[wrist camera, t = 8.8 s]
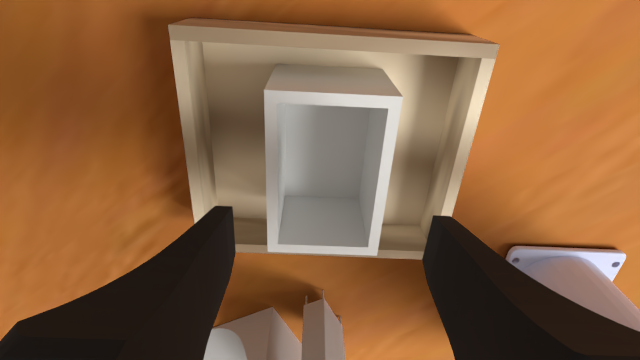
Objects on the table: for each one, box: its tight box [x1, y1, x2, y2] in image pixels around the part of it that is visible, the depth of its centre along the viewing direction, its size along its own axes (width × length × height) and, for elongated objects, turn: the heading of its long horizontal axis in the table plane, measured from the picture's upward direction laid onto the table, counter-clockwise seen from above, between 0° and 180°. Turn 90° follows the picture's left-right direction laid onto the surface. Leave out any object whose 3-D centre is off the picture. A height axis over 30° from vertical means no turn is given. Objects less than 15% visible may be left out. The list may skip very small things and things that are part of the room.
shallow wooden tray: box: [168, 18, 500, 260], centre depth 20 cm, size 12×14×3 cm
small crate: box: [264, 64, 403, 256], centre depth 18 cm, size 8×5×5 cm
